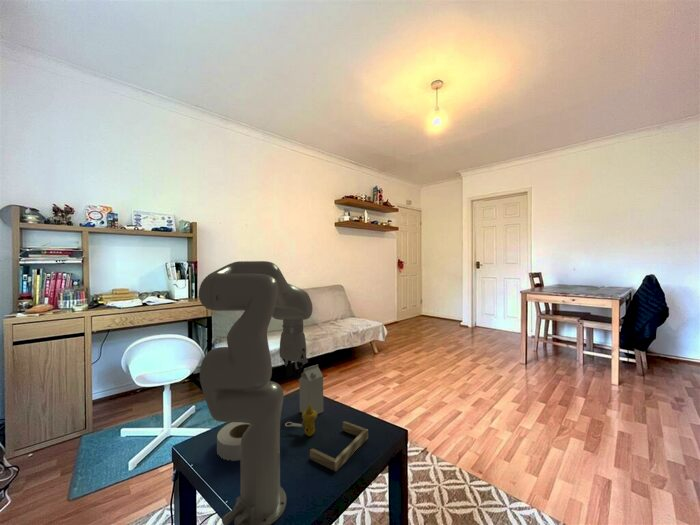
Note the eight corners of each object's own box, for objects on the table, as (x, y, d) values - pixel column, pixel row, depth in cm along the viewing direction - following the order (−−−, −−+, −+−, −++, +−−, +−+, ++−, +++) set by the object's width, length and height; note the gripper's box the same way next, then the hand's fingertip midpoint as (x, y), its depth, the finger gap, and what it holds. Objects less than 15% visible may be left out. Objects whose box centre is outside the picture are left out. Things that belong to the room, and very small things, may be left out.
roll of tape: (239, 429, 106) (239, 414, 106) (275, 437, 100) (275, 422, 100) (205, 456, 91) (205, 439, 91) (245, 468, 86) (245, 449, 86)
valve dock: (336, 472, 83) (336, 462, 83) (309, 459, 89) (309, 450, 89) (368, 438, 99) (368, 429, 99) (344, 428, 105) (344, 420, 105)
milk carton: (299, 411, 117) (299, 366, 117) (313, 405, 122) (313, 362, 122) (309, 418, 112) (308, 371, 112) (323, 412, 117) (323, 366, 117)
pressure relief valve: (314, 440, 98) (313, 411, 98) (282, 436, 101) (281, 408, 101) (318, 431, 104) (318, 403, 104) (288, 427, 106) (288, 400, 106)
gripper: (270, 328, 107) (270, 376, 107) (302, 333, 98) (303, 386, 98) (285, 324, 114) (285, 369, 114) (316, 329, 104) (316, 378, 104)
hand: (293, 376), depth 106 cm, fingers open, 3 cm apart
